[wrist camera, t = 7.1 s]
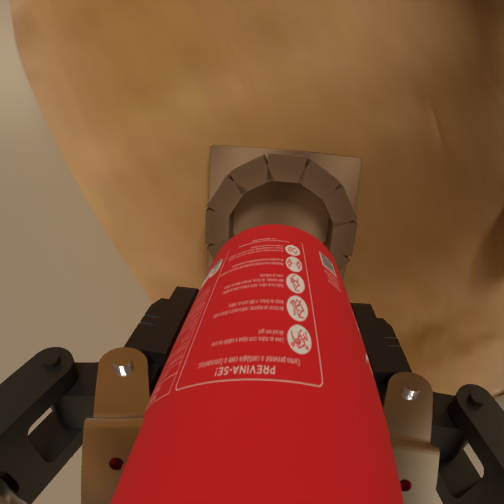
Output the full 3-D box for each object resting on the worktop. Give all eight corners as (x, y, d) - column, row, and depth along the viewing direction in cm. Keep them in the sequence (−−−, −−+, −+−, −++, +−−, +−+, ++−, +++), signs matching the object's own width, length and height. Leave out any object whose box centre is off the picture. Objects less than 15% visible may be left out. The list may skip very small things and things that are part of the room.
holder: (358, 157, 20) (369, 162, 17) (338, 286, 24) (344, 307, 21) (213, 145, 21) (203, 148, 18) (211, 275, 25) (202, 294, 22)
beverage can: (272, 189, 12) (215, 594, 1) (359, 273, 13) (457, 568, 2) (191, 274, 14) (55, 546, 3) (275, 342, 15) (255, 602, 4)
